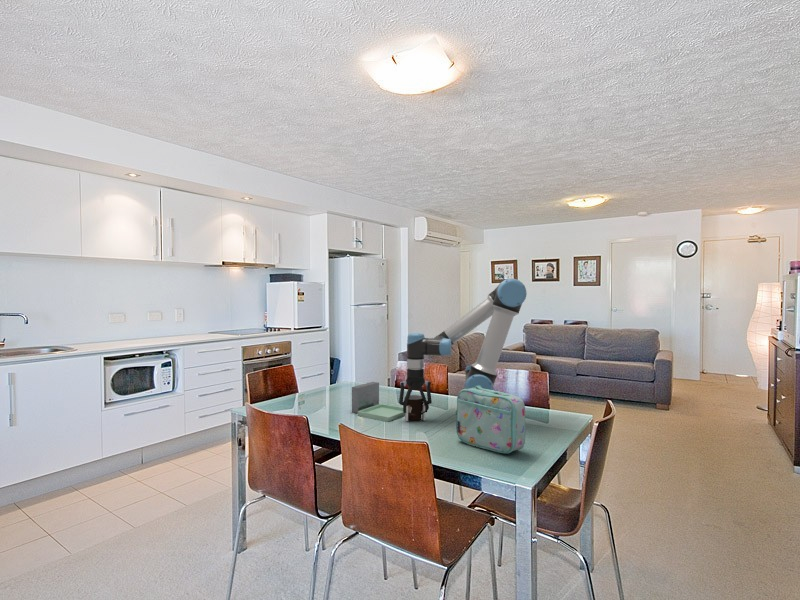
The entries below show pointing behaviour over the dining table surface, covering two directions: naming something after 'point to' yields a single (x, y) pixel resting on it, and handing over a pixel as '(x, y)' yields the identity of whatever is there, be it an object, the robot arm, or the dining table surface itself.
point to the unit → (365, 396)
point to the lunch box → (490, 419)
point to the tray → (382, 412)
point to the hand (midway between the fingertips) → (415, 419)
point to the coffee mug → (415, 408)
